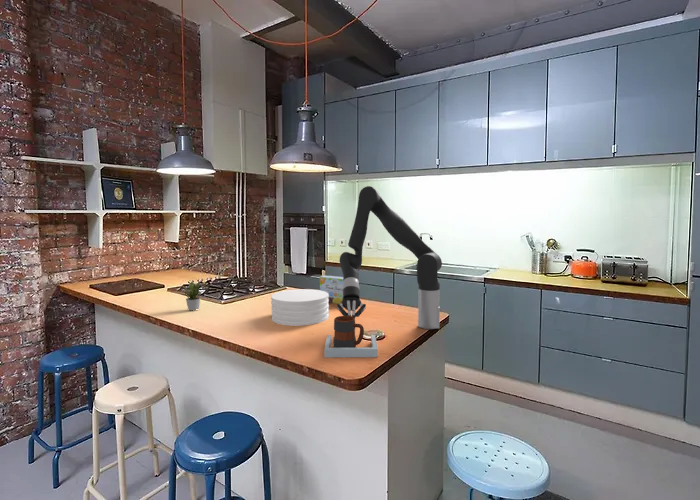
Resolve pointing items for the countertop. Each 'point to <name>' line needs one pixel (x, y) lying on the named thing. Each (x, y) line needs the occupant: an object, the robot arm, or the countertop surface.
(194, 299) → the house plant
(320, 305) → the plate stack
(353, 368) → the countertop surface
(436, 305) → the robot arm
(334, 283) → the snack box
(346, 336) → the mug
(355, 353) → the dock bay
